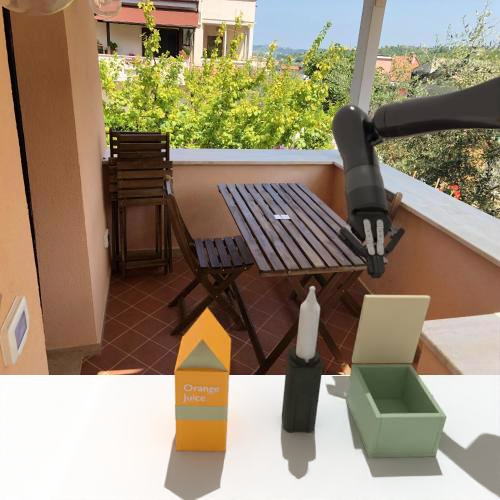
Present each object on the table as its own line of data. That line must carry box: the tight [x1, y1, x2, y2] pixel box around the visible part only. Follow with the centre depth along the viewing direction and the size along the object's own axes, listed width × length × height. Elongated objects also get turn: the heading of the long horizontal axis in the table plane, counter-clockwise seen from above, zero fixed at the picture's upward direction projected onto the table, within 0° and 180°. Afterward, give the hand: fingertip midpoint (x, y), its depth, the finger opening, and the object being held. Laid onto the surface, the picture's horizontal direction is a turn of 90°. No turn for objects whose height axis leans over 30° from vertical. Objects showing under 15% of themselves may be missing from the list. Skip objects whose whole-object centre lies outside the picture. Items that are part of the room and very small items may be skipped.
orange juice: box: [173, 306, 232, 452], centre depth 65 cm, size 8×9×20 cm
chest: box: [345, 363, 447, 459], centre depth 70 cm, size 13×11×8 cm
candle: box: [281, 285, 324, 434], centre depth 67 cm, size 5×5×25 cm
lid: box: [351, 294, 431, 364], centre depth 71 cm, size 13×11×1 cm
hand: (377, 276), depth 77 cm, fingers closed
